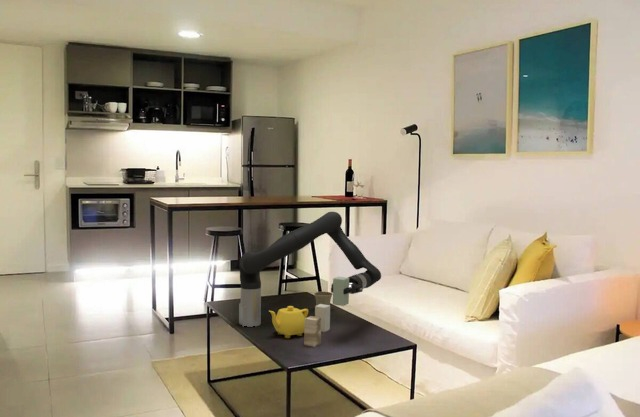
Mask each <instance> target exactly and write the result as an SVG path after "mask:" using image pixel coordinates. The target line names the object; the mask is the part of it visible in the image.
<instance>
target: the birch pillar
mask: <svg viewBox="0 0 640 417" xmlns="http://www.w3.org/2000/svg"><path fill="white" fill-rule="evenodd" d="M303 337H304V338H303V339H304V340H303V341H304V342H303V344H304V346H307V347H313V348H316V347H318V346H320V345H321V343H322V340H321V339H322V332H321V317H315V315H309V316H307V317H306V318H305V329H304V335H303Z"/></svg>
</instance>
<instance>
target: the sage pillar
mask: <svg viewBox="0 0 640 417" xmlns="http://www.w3.org/2000/svg"><path fill="white" fill-rule="evenodd" d="M332 284H333V293H332V294H333V295H332V305H334V306H341V307H344V306H347V305H349V300H350V298H349V297H350V293H347V294H343V290H344V289H345V288H348V287H349V278H348V277H345V276H337V277H334V278H332Z"/></svg>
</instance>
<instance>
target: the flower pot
mask: <svg viewBox="0 0 640 417" xmlns="http://www.w3.org/2000/svg"><path fill="white" fill-rule="evenodd" d="M313 294H314V298H315V304H316V305H315V306H317V305H319V304H324V305H330V306H331V299H332V298H333V293H332V292H331V291H330V292H329V291H315V292H314V293H313Z"/></svg>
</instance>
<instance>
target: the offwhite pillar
mask: <svg viewBox="0 0 640 417" xmlns="http://www.w3.org/2000/svg"><path fill="white" fill-rule="evenodd" d="M314 316H315V317H321V333H326V332H328V331H329V330H330V329H331V326H330V325H331V324H330V323H331V304H330V305H324V304H319V305H315V306H314Z"/></svg>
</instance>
